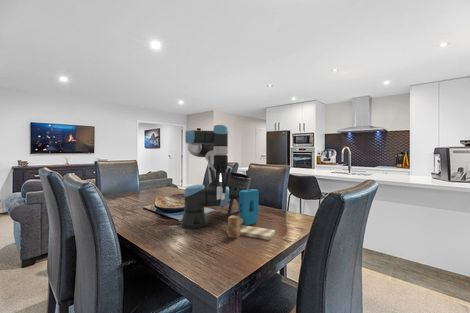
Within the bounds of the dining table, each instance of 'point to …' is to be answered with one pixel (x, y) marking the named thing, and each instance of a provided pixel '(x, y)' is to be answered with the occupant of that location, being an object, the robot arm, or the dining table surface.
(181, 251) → the dining table surface
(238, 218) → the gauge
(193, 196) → the robot arm
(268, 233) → the board
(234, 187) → the planter
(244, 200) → the block
